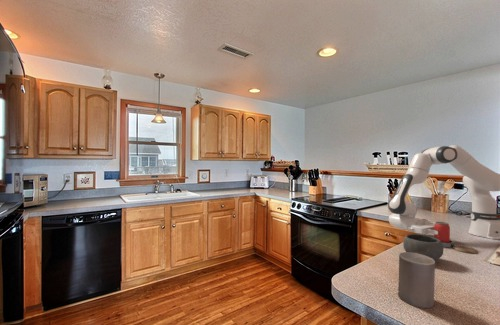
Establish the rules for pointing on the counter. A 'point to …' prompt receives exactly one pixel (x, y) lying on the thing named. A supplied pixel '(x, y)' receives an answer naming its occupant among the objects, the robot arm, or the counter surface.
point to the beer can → (442, 232)
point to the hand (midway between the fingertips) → (443, 231)
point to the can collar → (448, 244)
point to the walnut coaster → (465, 249)
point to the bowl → (423, 245)
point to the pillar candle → (416, 279)
